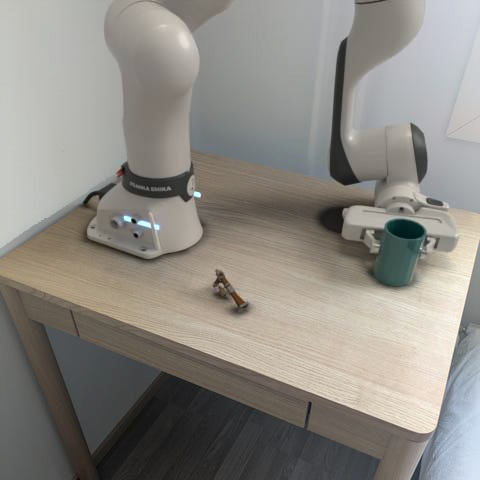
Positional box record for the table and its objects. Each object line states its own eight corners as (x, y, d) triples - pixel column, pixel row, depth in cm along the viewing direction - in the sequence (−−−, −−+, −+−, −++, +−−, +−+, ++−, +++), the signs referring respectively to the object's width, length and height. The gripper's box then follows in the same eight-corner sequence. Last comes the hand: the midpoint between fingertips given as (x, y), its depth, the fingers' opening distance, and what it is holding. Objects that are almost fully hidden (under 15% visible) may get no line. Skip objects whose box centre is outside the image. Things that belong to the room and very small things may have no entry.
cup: (371, 282, 86) (383, 236, 80) (375, 260, 91) (386, 215, 85) (411, 289, 85) (426, 243, 79) (413, 267, 90) (427, 222, 84)
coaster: (316, 228, 99) (316, 227, 99) (324, 205, 106) (325, 204, 106) (366, 237, 97) (366, 236, 97) (371, 212, 104) (371, 211, 104)
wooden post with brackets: (215, 279, 85) (221, 264, 81) (242, 315, 83) (250, 302, 79) (206, 283, 84) (212, 268, 80) (233, 319, 82) (241, 306, 78)
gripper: (345, 191, 93) (341, 229, 83) (457, 204, 91) (467, 245, 80) (340, 220, 98) (336, 260, 88) (447, 233, 95) (455, 276, 85)
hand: (399, 253), depth 84 cm, fingers closed on cup, 7 cm apart
